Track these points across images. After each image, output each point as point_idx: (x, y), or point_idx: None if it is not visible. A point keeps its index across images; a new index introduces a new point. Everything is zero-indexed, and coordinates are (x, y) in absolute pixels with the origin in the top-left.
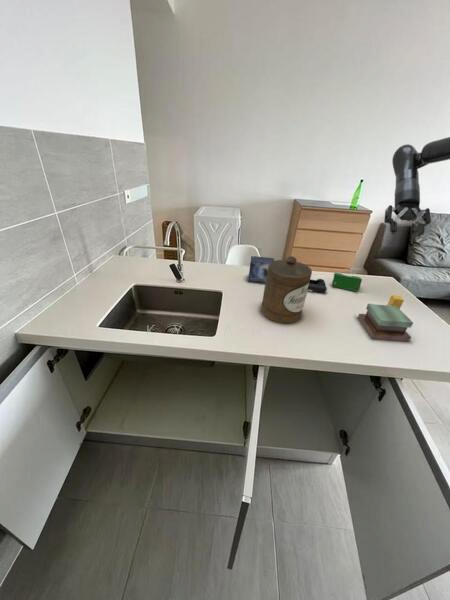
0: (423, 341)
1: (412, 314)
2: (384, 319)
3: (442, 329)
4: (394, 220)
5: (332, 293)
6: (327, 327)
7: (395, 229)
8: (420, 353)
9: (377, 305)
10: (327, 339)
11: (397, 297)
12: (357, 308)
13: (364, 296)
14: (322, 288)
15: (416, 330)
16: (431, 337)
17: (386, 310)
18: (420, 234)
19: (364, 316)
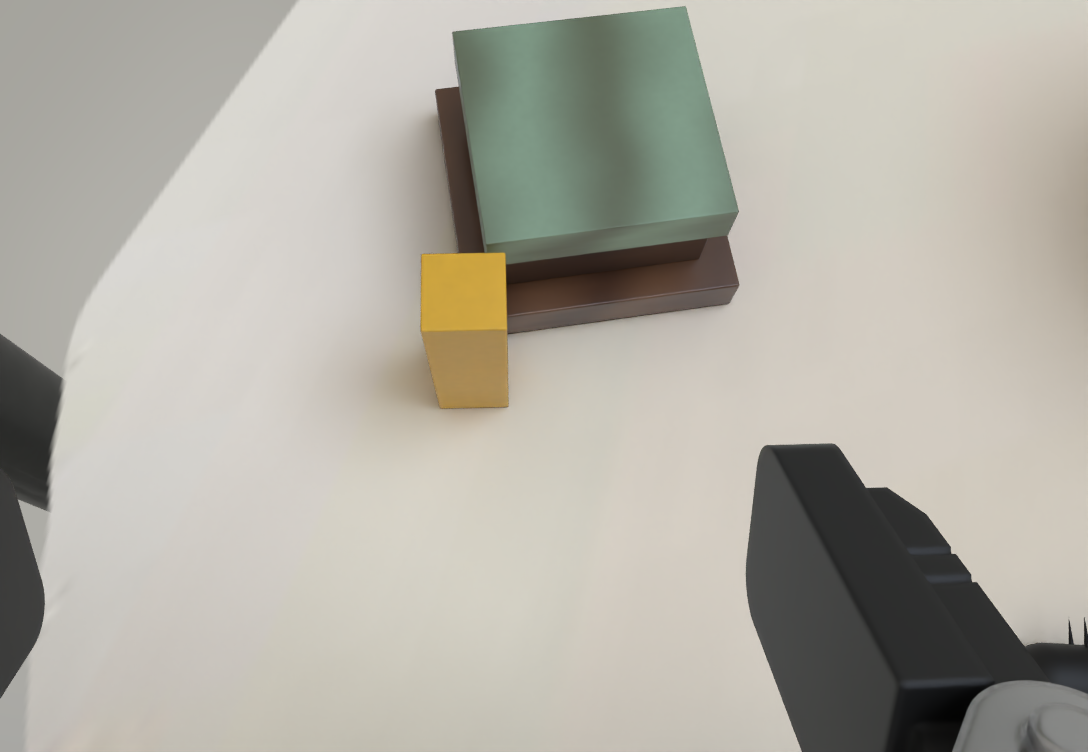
0: (329, 142)
1: (217, 496)
2: (661, 20)
3: (82, 324)
4: (1078, 715)
5: None
6: (955, 132)
7: (831, 460)
8: (413, 27)
9: (660, 204)
10: (952, 20)
11: (468, 288)
12: (703, 457)
13: (582, 741)
14: (1070, 650)
15: (312, 257)
16: (242, 199)
17: (604, 147)
18: (2, 490)
19: (705, 253)
